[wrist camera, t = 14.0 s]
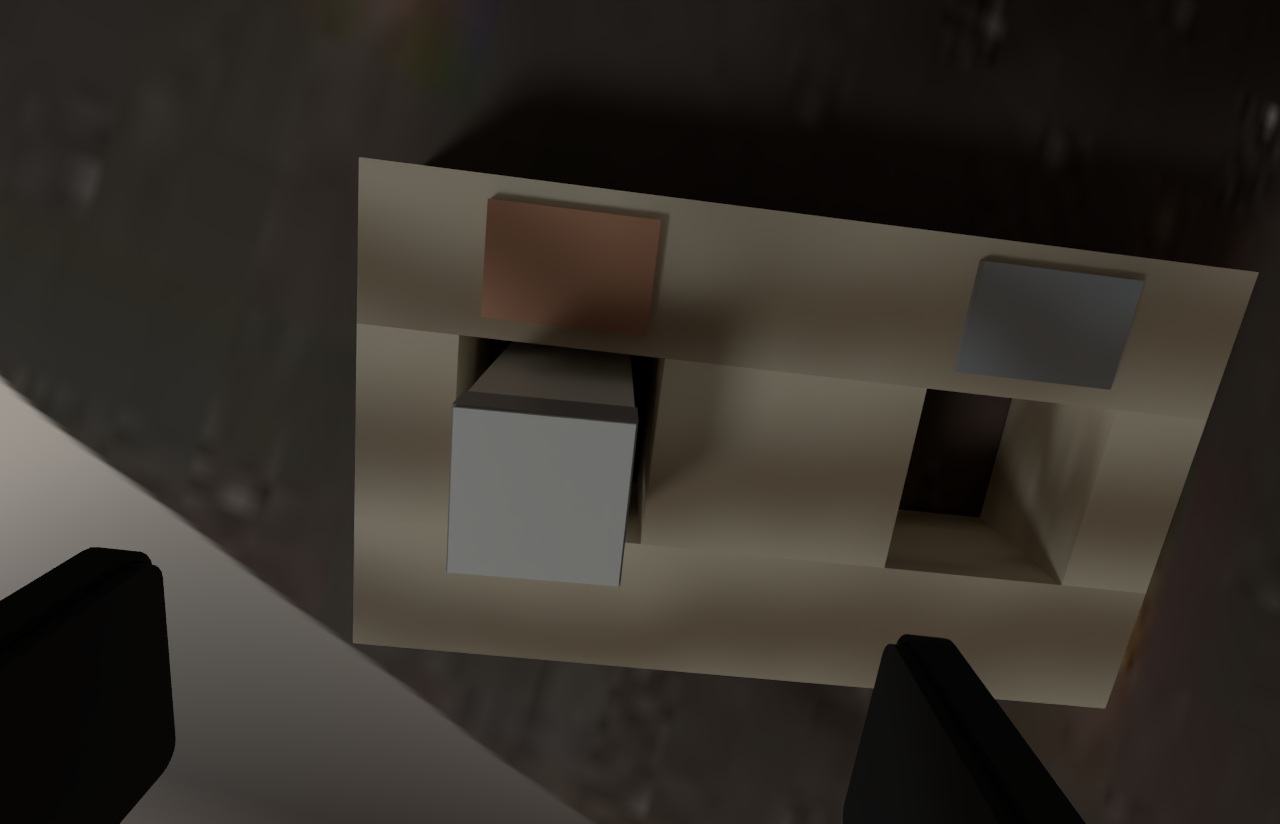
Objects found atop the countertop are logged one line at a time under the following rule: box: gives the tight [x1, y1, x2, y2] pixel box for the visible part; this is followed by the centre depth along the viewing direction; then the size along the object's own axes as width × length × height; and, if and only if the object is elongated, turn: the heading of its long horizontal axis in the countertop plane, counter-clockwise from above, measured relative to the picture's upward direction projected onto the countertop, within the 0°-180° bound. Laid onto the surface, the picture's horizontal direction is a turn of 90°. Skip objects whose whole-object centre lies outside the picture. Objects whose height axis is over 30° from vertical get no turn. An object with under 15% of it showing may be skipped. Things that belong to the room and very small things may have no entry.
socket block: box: [353, 157, 1259, 708], centre depth 22 cm, size 14×24×5 cm, turn 83°
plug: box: [446, 341, 639, 586], centre depth 20 cm, size 4×4×9 cm
